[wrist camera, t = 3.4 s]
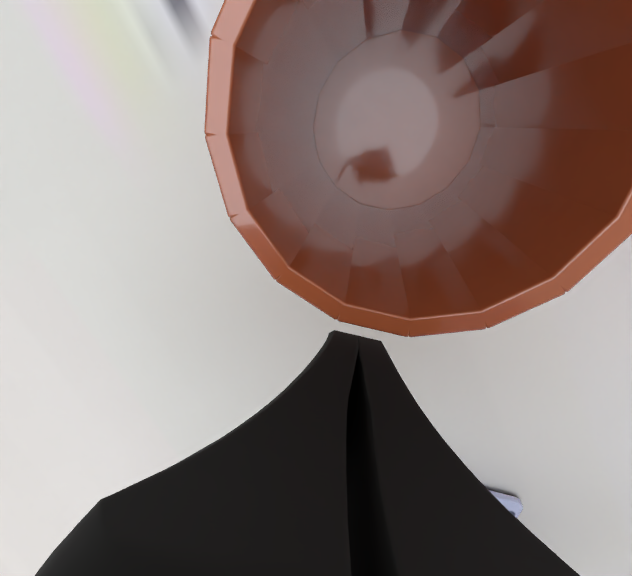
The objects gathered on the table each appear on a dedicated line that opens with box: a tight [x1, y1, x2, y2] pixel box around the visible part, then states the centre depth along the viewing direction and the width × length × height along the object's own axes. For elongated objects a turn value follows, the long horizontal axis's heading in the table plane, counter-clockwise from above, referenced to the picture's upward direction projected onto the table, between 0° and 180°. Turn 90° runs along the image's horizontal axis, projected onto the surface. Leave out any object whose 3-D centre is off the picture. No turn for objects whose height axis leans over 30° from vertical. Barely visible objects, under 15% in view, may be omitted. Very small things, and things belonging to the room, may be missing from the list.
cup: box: [204, 0, 632, 337], centre depth 10 cm, size 7×7×10 cm
